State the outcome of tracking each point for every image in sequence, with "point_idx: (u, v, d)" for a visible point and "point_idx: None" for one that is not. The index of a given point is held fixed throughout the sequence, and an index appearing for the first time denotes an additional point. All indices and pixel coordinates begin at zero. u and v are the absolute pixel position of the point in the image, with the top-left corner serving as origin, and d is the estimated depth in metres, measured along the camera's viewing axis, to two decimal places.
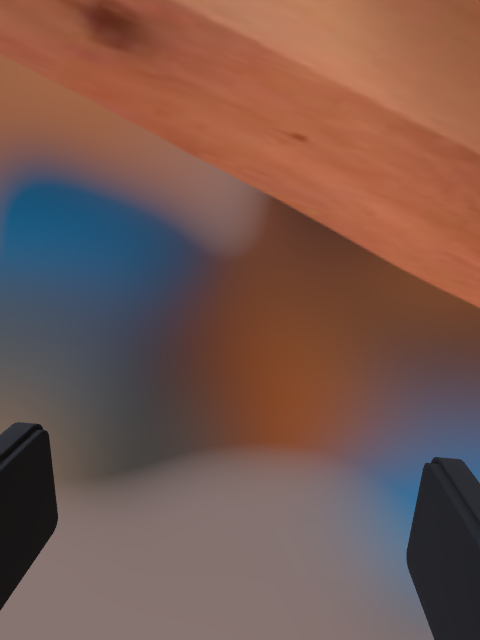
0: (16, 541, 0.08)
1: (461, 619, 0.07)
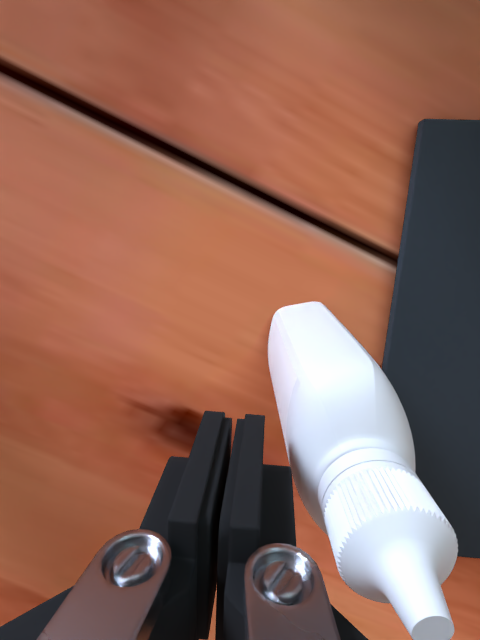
0: None
1: None
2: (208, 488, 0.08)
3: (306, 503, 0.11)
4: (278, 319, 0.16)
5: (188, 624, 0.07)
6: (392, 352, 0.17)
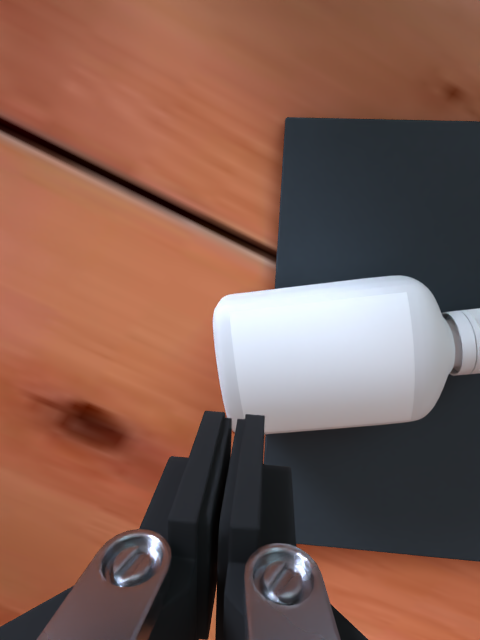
0: None
1: None
2: (208, 488, 0.08)
3: (439, 382, 0.14)
4: (253, 306, 0.14)
5: (188, 624, 0.07)
6: None
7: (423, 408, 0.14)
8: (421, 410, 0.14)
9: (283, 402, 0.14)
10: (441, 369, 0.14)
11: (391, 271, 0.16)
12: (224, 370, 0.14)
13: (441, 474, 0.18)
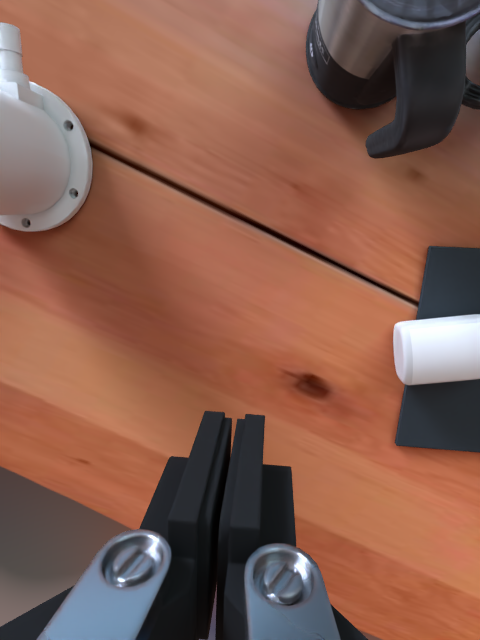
0: None
1: None
2: (208, 488, 0.08)
3: None
4: (419, 327, 0.33)
5: (188, 624, 0.07)
6: None
7: None
8: None
9: (431, 368, 0.34)
10: None
11: (473, 312, 0.35)
12: (407, 354, 0.33)
13: None
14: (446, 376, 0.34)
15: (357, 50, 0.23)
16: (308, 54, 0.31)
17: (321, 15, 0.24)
